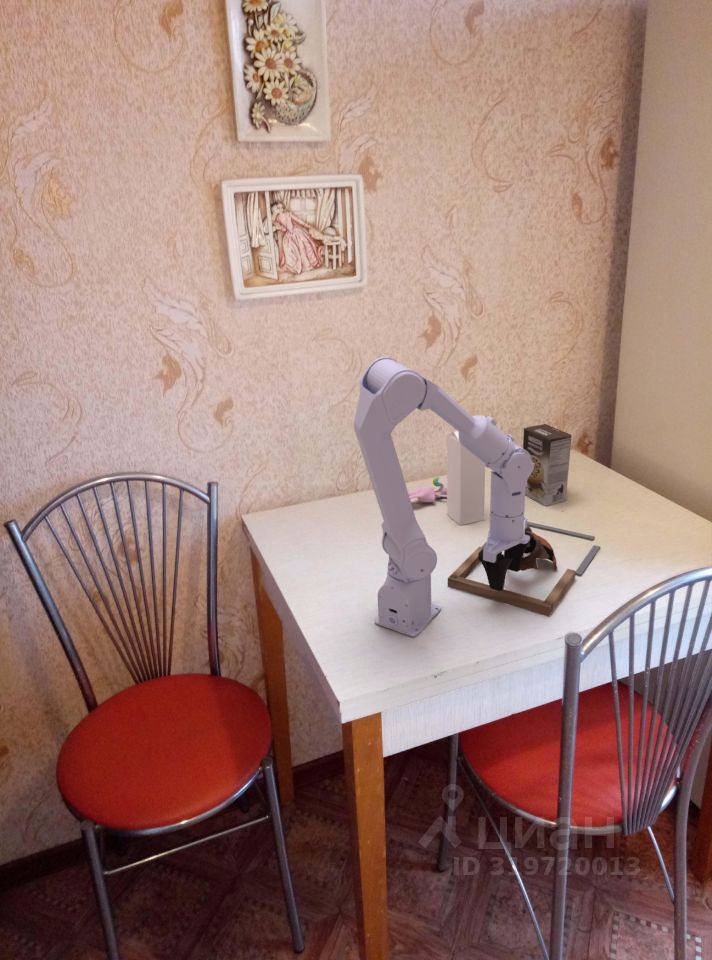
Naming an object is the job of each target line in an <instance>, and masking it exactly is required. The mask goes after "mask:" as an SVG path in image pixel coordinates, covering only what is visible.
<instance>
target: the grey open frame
mask: <svg viewBox="0 0 712 960" xmlns="http://www.w3.org/2000/svg"><path fill="white" fill-rule="evenodd" d="M527 526H528V527H530V528H535V529H538V530H543V531H548V532H551V533H552V532H553V533H557V534H561V535H566V536H570V537H575V538H578V539H579V538H580V539H583V540H588V541H594V540H595V536H594V535H589V534H584V533H581V532H577V531H572V530H567V529H564V528H558V527H554V526H548V525H544V524H540V523H536V522H530V521H527ZM486 544H487V541H486V542H484V544H483V545H482V546H481V547H483V548H485V547H486ZM600 549H601V546H599V545H597V544H596V545H595V544H593V546H592V547H591V549H590V550H589V552H588V553H587V555H586V556H585V557H584V559H583V560H582V562H581V563H580V564H579V565H578V566H577V568H576V570H575V571H576V573H575V576H577V577H582V575H583V574H584V572H585V571H586V570H587V568H588V567H589V565H590V564H591V562H592V560H593V559H594V558H595V556H596V555H597V554H598V552H599V551H600Z"/></svg>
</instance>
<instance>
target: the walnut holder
mask: <svg viewBox="0 0 712 960" xmlns="http://www.w3.org/2000/svg"><path fill="white" fill-rule="evenodd" d="M482 549H485V548H483V547H482V546H478V547H477V548H476V549H475V550H474V551H473V552H472V553H471V554H470V555H469V556H468V557H467V558H466V559H465V561H463V562H462V563H461V564H460V565H459V566H458V567H457V568H456V569H455V570H454V571H453V572H452V573H451V574H450V575H449V576H448V577H447V587H448V588H451V589H454V590H457V591H461V592H464V593H469V594H472V595H474V596H478V597H481V598H485V599H488V600H492V601H494V602H495V601H496V602H499V603H500V604H501V603H502V604H505V605H509V606H512V607H515V608H518V609H522V610H525V611H529V612H533V613H535V614H539V615H542V616H545V617H546V616H547V617H550V616H551V615H552V614H553V612H554V610H555V609H556V608H557V606H558V605H559V603H560V602H561V600H562V599H563V597H564V596H565V594H566V593H567V592H568V590H569V589H570V587H571V586H572V585H573V583H574V581H575V580H576V575H575V573H576V570H575V569H574V570H573V569H570V568H567V569H566V570H565V572H564V573H563V574H562V576H561V577H560V578H559V579H558V581H557V583H556V584H555V585H554V586H553V588H552V589H551V591H550V592H549V594H548V595H547V596H546V598H545V599H539V598H536V597H532V596H529V595H525V594H522V593H518V592H514V591H512V590H508V589H504V588H503V589H502V591H498V590H494V589H491V588H490V585H489V584H486V583H483V582H480V581H476V580H472V579H470V578H467V577H468V576H469V575H470V574H471V573H472V572H473V571H474V570H475V568H476V567H477V566H479V564H481V562H480V561H479V559H478V553H479V552H480V551H481V550H482Z"/></svg>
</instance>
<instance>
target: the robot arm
mask: <svg viewBox="0 0 712 960" xmlns="http://www.w3.org/2000/svg"><path fill="white" fill-rule="evenodd" d="M358 383H359V394H358V395H359V396H358V401H357V405H356V406H357V407H356V410H355V416H354V419H353V428H354V433H355V435H356V438H357V441H358V444H359V448H360V451H361V455H362V457H363V460H364V463H365V464H364V465H365V467H366V470H367V473H368V476H369V479H370V482H371V485H372V489H373V491H374V494H375V498H376V502H377V505H378V507H379V510H380V513H381V517H382V520H383V521H382V522H381V524H380V525H381V528H382V538H381V546H382V550H383V551H384V552H385V553H386V554H387V555H388V562H387V571H386V572H387V573H386V574H387V575H386V578H385V581H384V583H383V584H382V586H381V587H380V588H379V589H378V592H377V609H378V610H377V611H378V613H377V614H378V617H376V618H375V619H374V624H375V625H379V626H381V627H383V628H387V629H390V630H393V631H395V632H398V633H401V634H404V635H407V636H410V637H414V638H415V637H416V636H418V635H419V634H420V633H421V631H422V630H424V628H426V626H427V625H428V624H429V623H430V622H431V621H432V619H434V617H435V616H436V615H438V613H439V612H440V611H441V610H442V607H441V606H440V605H437V604H434V603H432V573H433V572H434V570H435V569H436V567H437V564H438V555H437V553H436V551H435V549H434V548H433V547H432V546H430V545H429V544H428V542H427V539H426V536H425V534H424V532H423V530H422V528H421V527H420V525H419V523H418V521H417V517H416V516H415V515H416V514H415V513H414V508H413V504H412V501H411V499H410V498H409V494H408V488H407V485H406V481H405V478H404V474H403V471H402V467H401V464H400V460H399V458H398V454H397V450H396V448H395V444H394V443H395V442H394V441H393V437H392V432H393V431H394V429H395V428H396V426H398V424H400V423H401V422H402V421H403V420H405V419H406V418H407V417H408V416H409V415H410V414H411V413H413V412H414V411H415V410H416V409H417V410H419V411H420V412H421V411H426V410H430V411H432V412H433V413H434V414H435V415H437V416H438V417H439V418H441V419H442V420H443V421H445V422H446V423H447V424H449V425H450V426H451V427H453V429H454V428H455V429H456V430H458V432H459V442H460V444H461V445H463V446H464V447H465V448H466V449H468V450H469V451H470V452H471V453H473V454H474V455H475V456H476V457H477V458H479V459H480V460H481V461H482V462H484V463H485V468H488V469H490V470H491V472H490V492H489V493H490V499H489V530H488V533H487V539H486V542H487V544H486V547H485V549H482V550H481V551H480V552H479V553H478V559H479V561H480V564H481V565H482V567H483V569H484V571H485V575H486V578H487V582H488V585H490V588H491V589H494V590H498V591H502V589H504V586H505V581H506V578H507V577H506V576H507V572H508V571H512V572H515V573H518V572H519V571H518V570H519V568H520V565H521V562H522V558H523V557H524V555H525V553H524V552H525V549H526V547H527V545H528V543H529V542H530V540H531V539H532V534H531V533H529V532H525V529H526V528H527V522H528V517H525V506H526V495H525V489H526V487H527V480H528V478H529V476H530V475H531V473H532V471H533V469H534V464H535V463H533V462H532V459H531V458H530V457H531V456H530V454H529V452H528V451H526V450H525V449H523V447H521V446H520V445H518V444H517V443H515V439H516V437H514V436H513V435H511V434H509V433H508V434H506V433H505V432H504V431H502V429H500V428H499V427H498V426H496V425H497V424H498V421H497V420H496V419H495V418H493V417H491V416H489V415H488V416H487V417H486V416H485V415H482V414H475V415H471V414H470V413H469V412H468V411H467V410H466V409H465V408H464V407H462V406H461V405H460V404H459V403H458V402H457V401H456V400H455V399H454V398H453V397H452V396H451V395H450V394H448V393H447V392H446V390H444V389H443V388H442V387H441V386H439V385H438V384H437V383H435V382H433V381H432V380H430V379H428V378H426V377H425V376H423V375H421V374H420V373H419V372H418V371H416V370H413V368H412V369H411V368H408V367H407V366H405V365H403V364H401V363H400V362H398V361H397V360H396V359H395V358H392V357H389V356H383V357H379V358H377V359H375V360H373V361H372V362H371V363H370V364H369V366H368V367H367V368H366V370H365V371H364V372H363V374H362V376H361V377H360V379H359V382H358ZM504 553H505V557H504Z"/></svg>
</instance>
